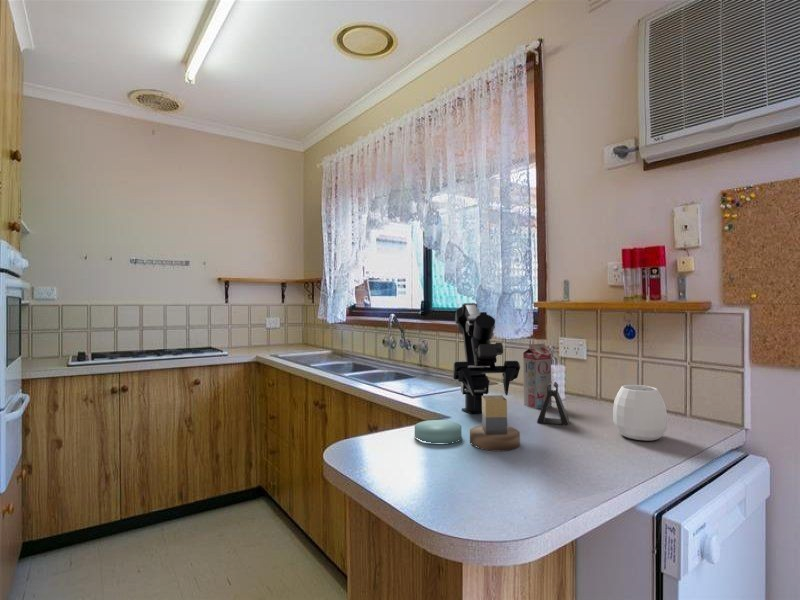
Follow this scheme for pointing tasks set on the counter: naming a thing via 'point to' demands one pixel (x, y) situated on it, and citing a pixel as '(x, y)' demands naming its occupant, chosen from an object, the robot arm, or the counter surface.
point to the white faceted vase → (640, 412)
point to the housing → (494, 414)
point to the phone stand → (561, 409)
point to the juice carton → (536, 375)
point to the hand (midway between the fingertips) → (490, 394)
